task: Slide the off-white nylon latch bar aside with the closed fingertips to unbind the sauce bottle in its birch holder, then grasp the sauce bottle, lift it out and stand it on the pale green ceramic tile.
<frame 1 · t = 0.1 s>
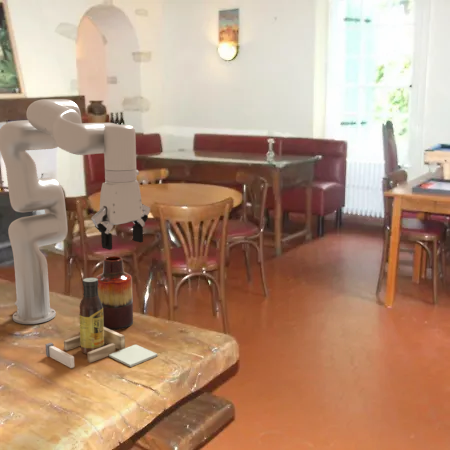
hand: (122, 245, 148), 31 cm above the table, fingers open, 9 cm apart
holder: (92, 350, 161), on the table
latch bar: (60, 355, 154), point 2 cm above the table, slide at 0.0 cm
tile: (133, 356, 158), on the table
sauce bottle: (92, 350, 161), on the table
vase: (115, 323, 180), on the table
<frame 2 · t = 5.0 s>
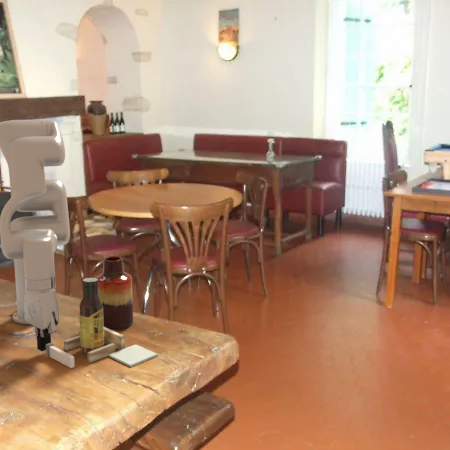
hand: (44, 348, 158), 1 cm above the table, fingers closed
latch bar: (60, 355, 154), point 2 cm above the table, slide at 0.0 cm, touching gripper
everything else where it was.
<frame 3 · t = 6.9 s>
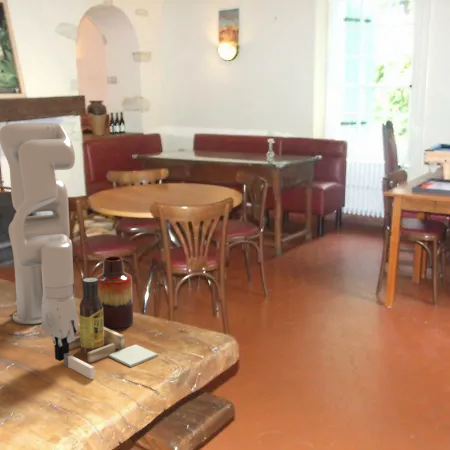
hand: (62, 358, 153), 1 cm above the table, fingers closed
latch bar: (79, 365, 148), point 2 cm above the table, slide at 8.5 cm, touching gripper
everything else where it was.
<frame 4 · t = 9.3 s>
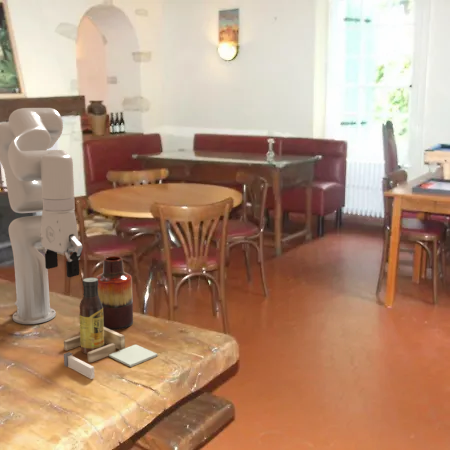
hand: (62, 271, 149), 24 cm above the table, fingers open, 9 cm apart
latch bar: (79, 365, 148), point 2 cm above the table, slide at 8.5 cm
everything else where it was.
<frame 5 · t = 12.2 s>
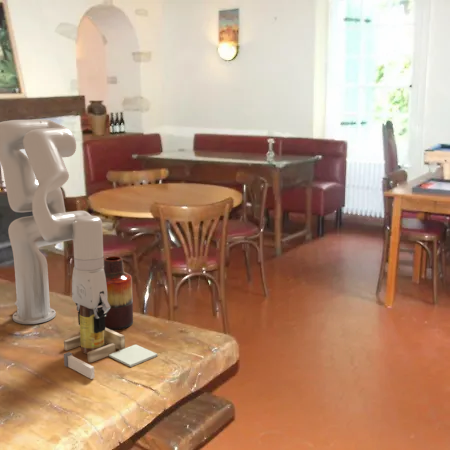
hand: (91, 327, 160), 7 cm above the table, fingers closed on sauce bottle, 6 cm apart
sauce bottle: (92, 350, 161), on the table, touching gripper
everything else where it was.
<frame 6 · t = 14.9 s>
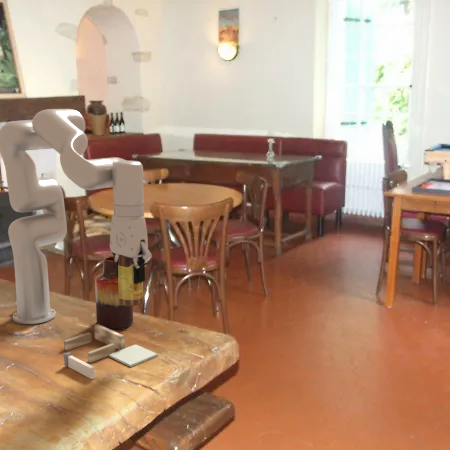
hand: (130, 278, 153), 21 cm above the table, fingers closed on sauce bottle, 6 cm apart
sauce bottle: (131, 303, 155), point 15 cm above the table, touching gripper
everything else where it was.
when the fingers open (8 cm above the table, at t = 17.8 s): sauce bottle stays where it is, resting on tile.
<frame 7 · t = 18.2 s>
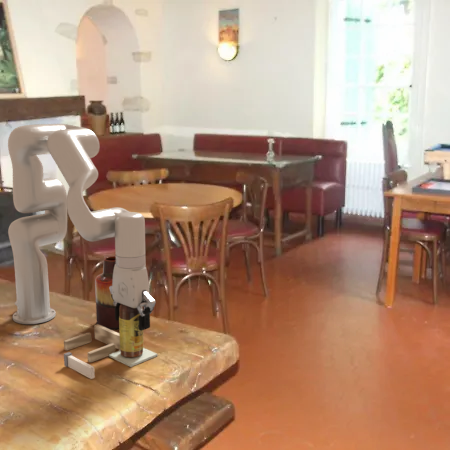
hand: (132, 324, 156), 9 cm above the table, fingers open, 9 cm apart
sauce bottle: (132, 354, 158), resting on tile
everything else where it was.
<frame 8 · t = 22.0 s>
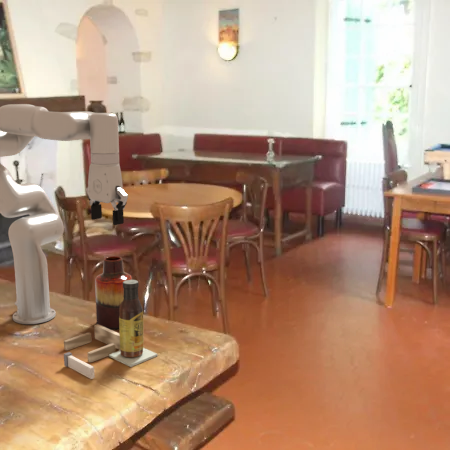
hand: (107, 221, 165), 33 cm above the table, fingers open, 9 cm apart
nothing on the table moved.
at the end: latch bar slide at 8.5 cm; sauce bottle inside the target area on the tile (0.5 cm from its centre), point 0.4 cm above the tile's base; sauce bottle tilted 0° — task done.
